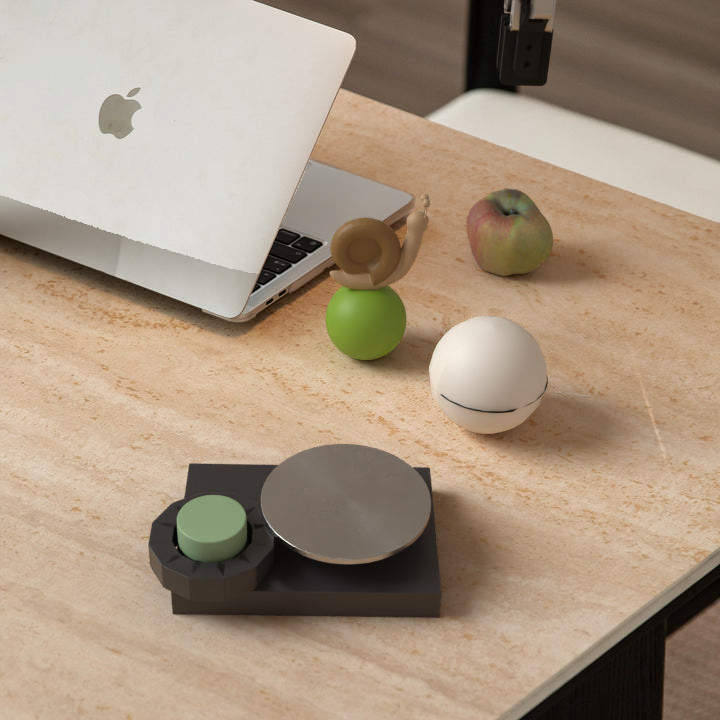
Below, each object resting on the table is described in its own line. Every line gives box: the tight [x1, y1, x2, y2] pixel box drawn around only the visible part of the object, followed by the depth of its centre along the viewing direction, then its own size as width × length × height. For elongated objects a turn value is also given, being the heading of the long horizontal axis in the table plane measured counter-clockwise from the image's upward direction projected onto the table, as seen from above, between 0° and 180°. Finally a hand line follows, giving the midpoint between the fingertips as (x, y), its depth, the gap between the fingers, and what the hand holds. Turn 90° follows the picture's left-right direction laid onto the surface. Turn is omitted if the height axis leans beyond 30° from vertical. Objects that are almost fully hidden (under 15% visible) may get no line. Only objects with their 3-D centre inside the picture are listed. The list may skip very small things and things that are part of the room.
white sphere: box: [428, 315, 591, 435], centre depth 76 cm, size 10×7×7 cm
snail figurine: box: [325, 193, 431, 361], centre depth 81 cm, size 5×6×12 cm
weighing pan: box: [261, 443, 431, 565], centre depth 67 cm, size 9×9×1 cm
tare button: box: [177, 495, 247, 563], centre depth 65 cm, size 4×4×2 cm
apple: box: [466, 188, 554, 277], centre depth 93 cm, size 6×8×6 cm
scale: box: [147, 462, 443, 619], centre depth 68 cm, size 15×11×4 cm
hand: (520, 76), depth 86 cm, fingers closed
